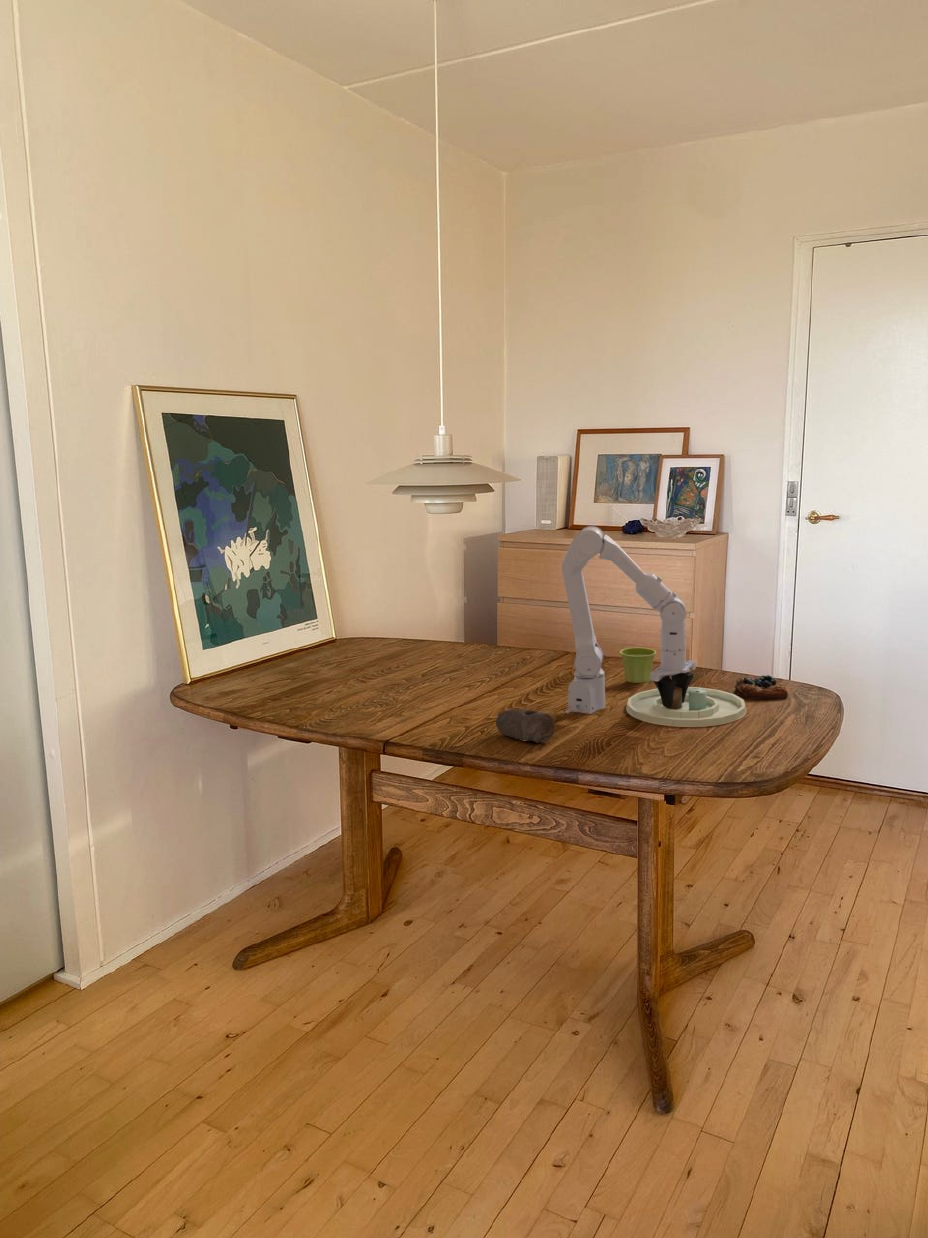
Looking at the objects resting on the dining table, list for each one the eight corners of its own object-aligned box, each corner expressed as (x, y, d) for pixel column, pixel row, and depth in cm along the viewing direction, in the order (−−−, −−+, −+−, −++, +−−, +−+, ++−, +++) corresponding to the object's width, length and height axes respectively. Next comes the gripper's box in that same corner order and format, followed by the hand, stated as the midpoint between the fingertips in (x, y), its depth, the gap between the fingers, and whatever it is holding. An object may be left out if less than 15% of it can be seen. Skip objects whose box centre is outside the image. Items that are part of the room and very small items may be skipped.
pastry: (730, 693, 235) (730, 671, 234) (777, 691, 235) (778, 668, 234) (742, 706, 225) (742, 682, 224) (792, 703, 224) (793, 680, 223)
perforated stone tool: (489, 736, 211) (488, 707, 210) (504, 730, 215) (503, 701, 213) (542, 749, 201) (541, 718, 200) (557, 742, 205) (556, 712, 203)
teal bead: (702, 713, 216) (702, 694, 215) (686, 711, 219) (686, 692, 218) (709, 709, 219) (709, 690, 219) (692, 706, 222) (692, 688, 221)
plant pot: (654, 678, 252) (654, 646, 251) (658, 687, 243) (657, 655, 241) (619, 679, 253) (618, 647, 252) (621, 688, 244) (621, 656, 242)
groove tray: (721, 738, 202) (721, 726, 202) (606, 720, 218) (605, 710, 217) (762, 704, 224) (763, 694, 223) (655, 691, 240) (655, 681, 239)
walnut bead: (678, 710, 220) (678, 691, 219) (662, 708, 222) (662, 689, 221) (684, 705, 223) (684, 687, 222) (669, 703, 225) (668, 685, 224)
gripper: (667, 657, 212) (667, 714, 215) (706, 645, 221) (706, 701, 224) (642, 652, 218) (643, 708, 220) (681, 641, 226) (682, 695, 229)
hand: (673, 704), depth 222 cm, fingers closed on walnut bead, 4 cm apart
